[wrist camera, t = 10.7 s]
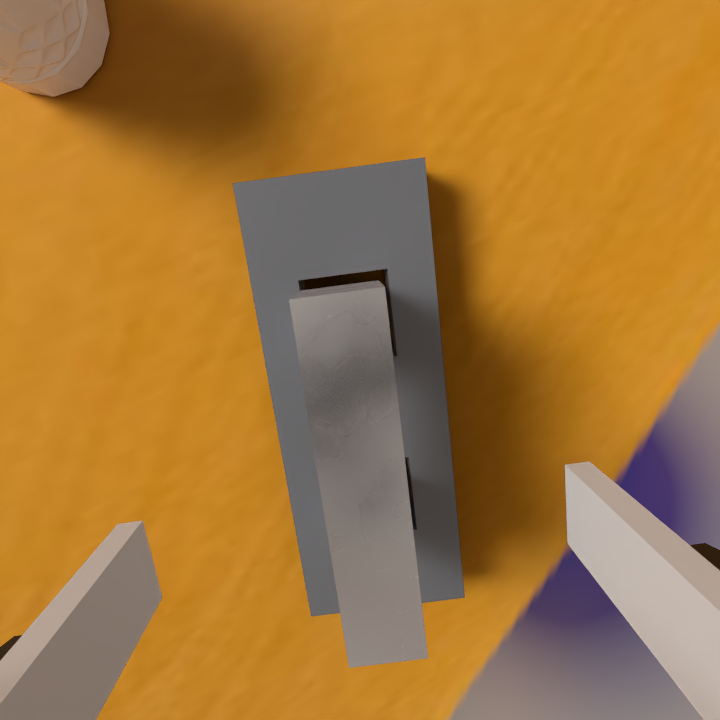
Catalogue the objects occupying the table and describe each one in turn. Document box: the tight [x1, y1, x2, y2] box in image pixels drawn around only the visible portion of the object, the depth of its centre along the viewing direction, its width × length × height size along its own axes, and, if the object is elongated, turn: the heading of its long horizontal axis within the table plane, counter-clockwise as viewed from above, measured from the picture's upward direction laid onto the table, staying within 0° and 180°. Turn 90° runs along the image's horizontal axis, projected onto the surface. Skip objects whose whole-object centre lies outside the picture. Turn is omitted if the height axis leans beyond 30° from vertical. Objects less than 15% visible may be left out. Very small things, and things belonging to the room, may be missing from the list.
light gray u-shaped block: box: [289, 280, 428, 668], centre depth 21 cm, size 3×14×12 cm, turn 7°
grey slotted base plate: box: [233, 157, 465, 616], centre depth 26 cm, size 9×24×3 cm, turn 7°
